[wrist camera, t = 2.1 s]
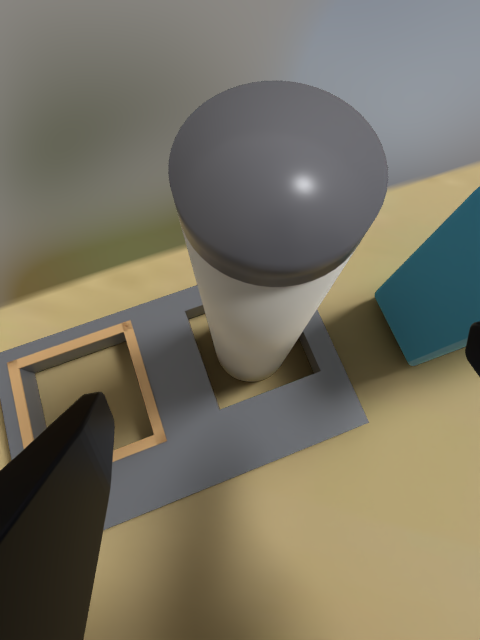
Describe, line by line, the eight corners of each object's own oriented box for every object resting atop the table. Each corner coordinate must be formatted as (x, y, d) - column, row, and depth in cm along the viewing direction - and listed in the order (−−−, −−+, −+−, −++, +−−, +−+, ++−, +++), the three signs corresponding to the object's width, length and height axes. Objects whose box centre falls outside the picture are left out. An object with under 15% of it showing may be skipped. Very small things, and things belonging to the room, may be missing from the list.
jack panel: (359, 423, 20) (369, 422, 18) (46, 549, 18) (28, 560, 17) (287, 264, 23) (291, 252, 21) (9, 360, 21) (-9, 354, 19)
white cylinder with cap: (269, 393, 20) (344, 301, 6) (203, 363, 21) (128, 211, 6) (296, 330, 21) (415, 122, 7) (233, 302, 22) (225, 55, 8)
